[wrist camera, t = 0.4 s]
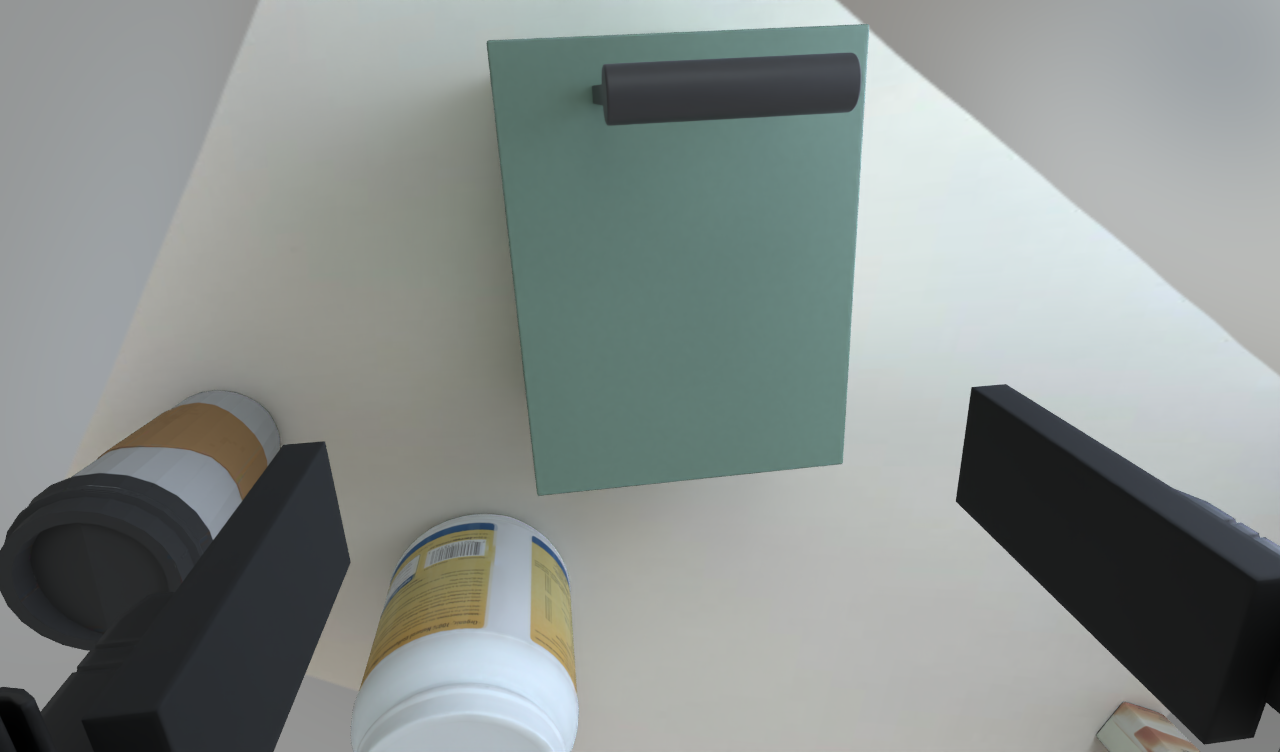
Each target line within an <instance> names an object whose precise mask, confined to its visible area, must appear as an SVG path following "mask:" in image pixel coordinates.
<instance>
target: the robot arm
mask: <svg viewBox="0 0 1280 752" xmlns="http://www.w3.org/2000/svg"><path fill="white" fill-rule="evenodd" d="M956 502H957V503H958V504H959V505H960V506H961V507H962V508H963V509H964V510H965V511H966V512H967V513H968V514H969V515H970V516H971V517H972V518H973V519H974V520H976V521H977V522H978V523H979V524H980V525H981V526H982V527H983V528H984V529H985V530H986V531H987V532H988V533H989V534H990V535H991V536H992V537H993V538H994V539H995V540H996V541H997V542H998V543H999V544H1000V545H1001V546H1002V547H1003V548H1004V549H1005V550H1006V551H1007V552H1008V553H1009V554H1010V555H1011V556H1012V557H1013V558H1014V559H1015V560H1016V561H1017V562H1018V563H1019V564H1020V565H1021V566H1022V567H1023V568H1024V569H1026V570H1027V571H1028V572H1029V573H1030V574H1031V575H1032V576H1033V577H1034V578H1035V579H1036V580H1037V581H1038V582H1039V583H1040V584H1041V585H1042V586H1043V587H1044V588H1045V589H1046V590H1047V591H1048V592H1049V593H1050V594H1051V595H1052V596H1053V597H1054V598H1055V599H1056V600H1057V601H1058V602H1059V603H1060V604H1061V605H1062V606H1063V607H1064V608H1065V609H1066V610H1067V611H1068V612H1069V613H1070V614H1071V615H1072V616H1073V617H1075V618H1076V619H1077V620H1078V621H1079V622H1080V623H1081V624H1082V625H1083V626H1084V627H1085V628H1086V629H1087V630H1088V631H1089V632H1090V633H1091V634H1092V635H1093V636H1094V637H1095V638H1096V639H1097V640H1098V641H1099V642H1100V643H1101V644H1102V645H1103V646H1104V647H1105V648H1106V649H1107V650H1108V651H1109V652H1110V653H1111V654H1112V655H1113V656H1114V657H1115V658H1116V659H1117V660H1118V661H1119V662H1120V663H1121V664H1122V665H1123V666H1125V667H1126V668H1127V669H1128V670H1129V671H1130V672H1131V673H1132V674H1133V675H1134V676H1135V677H1136V678H1137V679H1138V680H1139V681H1140V682H1141V683H1142V684H1143V685H1144V686H1145V687H1146V688H1147V689H1148V690H1149V691H1150V692H1151V693H1152V694H1153V695H1154V696H1155V697H1156V698H1157V699H1158V700H1159V701H1160V702H1161V703H1162V704H1163V705H1164V706H1165V707H1166V708H1167V709H1168V710H1169V711H1170V712H1171V713H1172V714H1174V715H1175V716H1176V717H1177V718H1178V719H1179V720H1180V721H1181V722H1182V723H1183V724H1184V725H1185V726H1186V727H1187V728H1188V729H1189V730H1190V731H1191V732H1192V733H1193V734H1194V735H1195V736H1196V737H1197V738H1198V739H1199V740H1200V741H1201V742H1202V743H1203V744H1211V743H1217V742H1225V741H1232V740H1239V739H1246V738H1253V737H1254V735H1255V732H1256V729H1257V726H1258V724H1259V721H1260V718H1261V715H1262V712H1263V710H1264V707H1265V704H1266V703H1268V704H1269V705H1270V706H1271V707H1272V708H1274V709H1275V710H1276V711H1277V712H1279V713H1280V546H1279V545H1277V544H1275V543H1274V542H1272V541H1270V540H1269V539H1267V538H1265V537H1263V538H1260V536H1259V533H1257V532H1256V531H1254V530H1252V529H1251V528H1249V527H1247V526H1246V525H1244V524H1243V523H1236V521H1235V519H1234V518H1233V517H1231V516H1229V515H1228V514H1226V513H1225V512H1223V511H1221V510H1220V509H1218V508H1216V507H1215V506H1213V505H1211V504H1210V503H1208V502H1206V501H1204V500H1201V499H1199V498H1196V497H1194V496H1191V495H1189V494H1186V493H1184V492H1181V491H1179V490H1176V489H1173V488H1172V487H1170V486H1168V485H1167V484H1165V483H1164V482H1162V481H1160V480H1159V479H1157V478H1155V477H1154V476H1152V475H1151V474H1149V473H1147V472H1146V471H1144V470H1143V469H1141V468H1139V467H1138V466H1136V465H1135V464H1133V463H1131V462H1130V461H1128V460H1127V459H1125V458H1123V457H1122V456H1120V455H1119V454H1117V453H1115V452H1114V451H1112V450H1111V449H1109V448H1107V447H1106V446H1104V445H1103V444H1101V443H1099V442H1098V441H1096V440H1094V439H1093V438H1091V437H1090V436H1088V435H1086V434H1085V433H1083V432H1082V431H1080V430H1078V429H1077V428H1075V427H1074V426H1072V425H1070V424H1069V423H1067V422H1066V421H1064V420H1062V419H1061V418H1059V417H1058V416H1056V415H1054V414H1053V413H1051V412H1050V411H1048V410H1046V409H1045V408H1043V407H1041V406H1040V405H1038V404H1037V403H1035V402H1033V401H1032V400H1030V399H1029V398H1027V397H1025V396H1024V395H1022V394H1021V393H1019V392H1017V391H1016V390H1014V389H1013V388H1011V387H1009V386H1008V385H1006V384H1004V385H992V386H980V387H972V389H971V396H970V403H969V410H968V417H967V425H966V432H965V439H964V446H963V453H962V461H961V468H960V475H959V482H958V489H957V497H956ZM349 565H350V557H349V553H348V548H347V543H346V538H345V534H344V529H343V524H342V520H341V515H340V510H339V505H338V501H337V496H336V491H335V487H334V482H333V477H332V472H331V468H330V463H329V458H328V453H327V449H326V444H325V442H313V443H301V444H289V445H283V446H282V447H281V449H280V450H279V452H278V453H277V454H276V456H275V457H274V458H273V460H272V461H271V462H270V464H269V465H268V466H267V468H266V469H265V471H264V472H263V473H262V475H261V476H260V477H259V479H258V480H257V481H256V483H255V484H254V485H253V487H252V488H251V490H250V491H249V492H248V494H247V495H246V496H245V498H244V499H243V500H242V502H241V503H240V504H239V506H238V507H237V509H236V510H235V511H234V513H233V514H232V515H231V517H230V518H229V519H228V521H227V522H226V524H225V525H224V526H223V528H222V529H221V530H220V532H219V533H218V534H217V536H216V537H215V538H214V540H213V541H212V543H211V544H210V545H209V547H208V548H207V549H206V551H205V552H204V553H203V555H202V556H201V557H200V559H199V560H198V562H197V563H196V564H195V566H194V567H193V568H192V570H191V571H190V572H189V574H188V575H187V577H186V578H185V579H184V581H183V582H182V583H181V585H180V586H179V587H178V589H177V590H176V591H175V592H165V593H155V594H149V595H148V596H146V597H145V598H143V599H142V600H141V601H139V602H138V603H137V604H135V605H134V606H133V607H131V608H130V609H128V610H127V611H126V612H124V613H123V614H122V615H120V616H119V617H118V618H116V620H115V621H114V622H113V623H112V624H111V626H110V627H109V628H108V629H107V631H106V632H105V633H104V634H103V636H102V637H101V638H100V639H99V640H98V642H97V643H96V644H95V649H94V650H90V652H89V653H88V654H87V655H86V657H85V658H84V659H83V660H82V661H81V663H80V664H79V665H78V666H77V672H75V673H72V674H71V675H70V676H69V678H68V679H67V680H66V681H65V683H64V684H63V685H62V686H61V687H60V689H59V690H58V691H57V692H56V694H55V695H54V696H53V697H52V698H51V700H50V701H49V702H48V703H47V705H46V706H45V707H44V708H43V710H42V711H41V712H40V710H39V708H38V706H37V703H36V701H35V699H34V698H33V697H32V696H31V695H30V694H29V693H28V692H26V691H25V690H24V689H18V688H8V687H1V688H0V752H273V751H274V749H275V746H276V744H277V741H278V739H279V737H280V734H281V732H282V729H283V727H284V724H285V722H286V719H287V717H288V714H289V712H290V710H291V707H292V705H293V702H294V700H295V697H296V695H297V692H298V690H299V687H300V685H301V683H302V680H303V678H304V675H305V673H306V670H307V668H308V665H309V663H310V660H311V658H312V656H313V653H314V651H315V648H316V646H317V643H318V641H319V638H320V636H321V633H322V631H323V629H324V626H325V624H326V621H327V619H328V616H329V614H330V611H331V609H332V606H333V604H334V602H335V599H336V597H337V594H338V592H339V589H340V587H341V584H342V582H343V580H344V577H345V575H346V572H347V570H348V567H349ZM1278 752H1280V749H1279V751H1278Z"/></svg>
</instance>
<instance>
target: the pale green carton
mask: <svg viewBox="0 0 1280 752" xmlns="http://www.w3.org/2000/svg"><path fill="white" fill-rule="evenodd" d="M1096 736H1097V738H1098V739H1099V740H1100V741H1101V743H1102V744H1103V745H1104V746H1105V747H1106V748H1107V749H1108V751H1109V752H1200V751H1199V750H1198V749H1197V748H1196V747H1195V746H1194V745H1193V744H1192V743H1191V742H1190V741H1189V740H1188V739H1187V738H1186V737H1185V736H1184V735H1183V734H1182V733H1181V732H1180V731H1179V730H1178V729H1177V728H1176V727H1175V726H1174V725H1173V724H1172V723H1171V722H1170V721H1169V720H1168V719H1167V718H1166V717H1165V716H1164V715H1162V714H1160V713H1157V712H1155V711H1152V710H1149V709H1146V708H1143V707H1140V706H1137V705H1133V704H1130V703H1126V702H1123V703H1122V704H1121V705H1120V707H1119V708H1118V709H1117V710H1116V711H1115V713H1114V714H1113V715H1112V716H1111V718H1110V719H1109V720H1108V721H1107V722H1106V724H1105V725H1104V726H1103V727H1102V729H1101V730H1100V731H1099V733H1098V734H1097V735H1096Z"/></svg>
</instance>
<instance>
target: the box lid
mask: <svg viewBox="0 0 1280 752" xmlns="http://www.w3.org/2000/svg"><path fill="white" fill-rule="evenodd" d="M868 37H869V25H868V24H861V25H838V26H815V27H791V28H768V29H744V30H721V31H698V32H674V33H651V34H627V35H604V36H581V37H557V38H534V39H511V40H489V41H487V51H488V60H489V69H490V78H491V87H492V96H493V105H494V114H495V122H496V131H497V140H498V149H499V158H500V167H501V176H502V185H503V194H504V203H505V211H506V220H507V229H508V238H509V247H510V256H511V265H512V274H513V283H514V292H515V301H516V309H517V318H518V327H519V336H520V345H521V354H522V363H523V372H524V381H525V390H526V399H527V407H528V416H529V425H530V434H531V443H532V452H533V461H534V470H535V479H536V488H537V494H538V496H541V495H551V494H560V493H570V492H579V491H589V490H598V489H608V488H617V487H627V486H637V485H646V484H656V483H665V482H675V481H684V480H694V479H703V478H713V477H722V476H732V475H741V474H751V473H761V472H770V471H780V470H789V469H799V468H808V467H818V466H827V465H837V464H842V463H843V449H844V432H845V416H846V399H847V383H848V366H849V350H850V334H851V317H852V301H853V284H854V268H855V251H856V235H857V218H858V202H859V185H860V169H861V153H862V136H863V120H864V103H865V87H866V70H867V54H868Z"/></svg>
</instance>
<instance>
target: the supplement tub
mask: <svg viewBox="0 0 1280 752" xmlns="http://www.w3.org/2000/svg"><path fill="white" fill-rule="evenodd" d="M578 717H579V705H578V699H577V689H576V674H575V659H574V645H573V630H572V614H571V599H570V581H569V576H568V572H567V569H566V567H565V565H564V562H563V560H562V558H561V556H560V555H559V553H558V551H557V550H556V548H555V547H554V546H553V545H552V543H551V542H550V541H549V540H548V539H547V538H546V537H545V536H544V535H542V534H541V533H540V532H539V531H537V530H536V529H534V528H533V527H531V526H529V525H528V524H526V523H524V522H522V521H519V520H517V519H515V518H512V517H509V516H504V515H497V514H474V515H467V516H462V517H458V518H454V519H451V520H448V521H445V522H443V523H441V524H439V525H437V526H435V527H433V528H431V529H430V530H428V531H427V532H425V533H424V534H423V535H421V536H420V537H419V538H418V539H416V540H415V541H414V542H413V543H412V544H411V545H410V546H409V548H408V549H407V550H406V551H405V553H404V554H403V556H402V557H401V558H400V560H399V562H398V563H397V565H396V567H395V569H394V571H393V574H392V577H391V581H390V586H389V590H388V594H387V597H386V601H385V605H384V608H383V612H382V615H381V618H380V622H379V625H378V629H377V632H376V636H375V639H374V642H373V646H372V649H371V653H370V656H369V660H368V663H367V666H366V670H365V673H364V676H363V680H362V683H361V686H360V690H359V693H358V695H357V697H356V700H355V704H354V707H353V712H352V721H351V743H352V749H353V752H571V750H572V748H573V745H574V742H575V738H576V734H577V728H578Z"/></svg>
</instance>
